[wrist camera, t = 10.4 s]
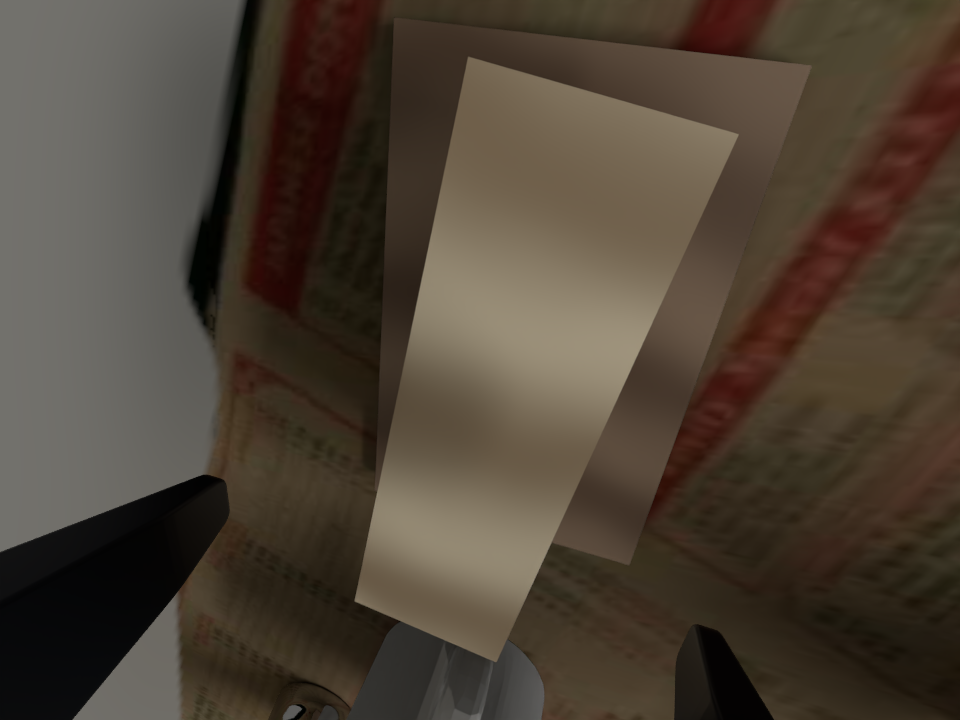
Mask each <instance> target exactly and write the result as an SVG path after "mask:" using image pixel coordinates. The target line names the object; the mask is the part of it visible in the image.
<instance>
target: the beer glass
mask: <svg viewBox="0 0 960 720" xmlns="http://www.w3.org/2000/svg"><path fill="white" fill-rule="evenodd" d="M350 711H351V709H350V708H349V707H348V706H347V705H346V704H345V703H344V702H343V701H342V700H341V699H340V698H338V697H337V696H336V695H334V694H333V693H331V692H329V691H328V690H326V689H324V688H321V687H319V686H316V685H313V684H309V683H303V682H296V683H291V684H288V685H286V686H285V687H284V688H283V689H282V690H281V691H280V693H279V695H278V697H277V699H276V701H275V704H274V706H273V708H272V711H271V713H270V716H269V718H268V720H346V719H347V717H348V715H349V713H350Z"/></svg>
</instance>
